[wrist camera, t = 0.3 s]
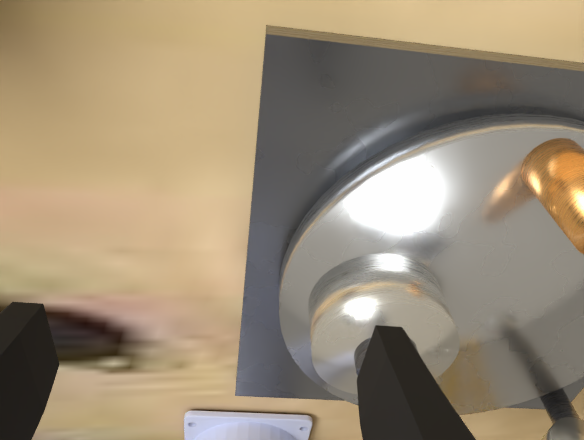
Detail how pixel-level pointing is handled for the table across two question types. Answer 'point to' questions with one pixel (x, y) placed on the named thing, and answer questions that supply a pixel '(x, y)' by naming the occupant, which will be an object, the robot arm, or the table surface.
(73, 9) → the table surface
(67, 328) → the table surface
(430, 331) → the cover
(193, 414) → the robot arm
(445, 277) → the platter
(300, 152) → the turntable base
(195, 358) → the table surface
